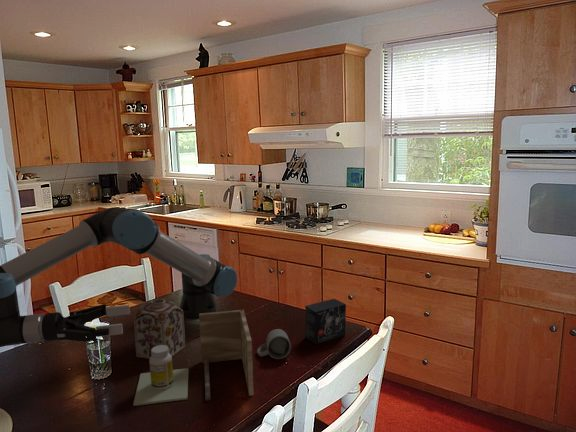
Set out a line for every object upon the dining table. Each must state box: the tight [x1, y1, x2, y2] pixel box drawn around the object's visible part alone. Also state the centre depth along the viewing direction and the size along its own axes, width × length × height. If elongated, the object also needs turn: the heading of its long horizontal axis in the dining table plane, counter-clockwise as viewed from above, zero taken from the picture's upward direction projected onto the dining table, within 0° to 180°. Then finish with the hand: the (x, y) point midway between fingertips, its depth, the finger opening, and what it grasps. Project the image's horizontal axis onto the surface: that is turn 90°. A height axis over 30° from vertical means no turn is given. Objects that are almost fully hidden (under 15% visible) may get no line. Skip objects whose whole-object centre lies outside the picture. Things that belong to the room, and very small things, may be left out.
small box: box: [304, 298, 347, 345], centre depth 159 cm, size 13×7×12 cm, turn 123°
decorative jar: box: [133, 298, 186, 360], centre depth 149 cm, size 12×12×18 cm
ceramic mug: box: [256, 328, 292, 360], centre depth 148 cm, size 11×8×8 cm
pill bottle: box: [148, 345, 174, 390], centre depth 129 cm, size 6×6×11 cm
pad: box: [133, 367, 189, 406], centre depth 130 cm, size 16×14×1 cm
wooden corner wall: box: [199, 309, 255, 402], centre depth 133 cm, size 23×14×16 cm, turn 11°
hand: (126, 318), depth 129 cm, fingers open, 13 cm apart
